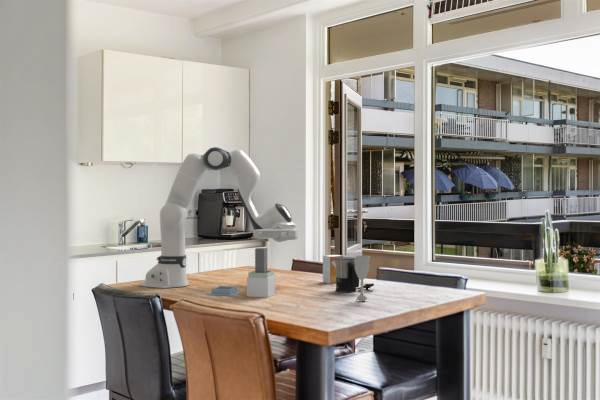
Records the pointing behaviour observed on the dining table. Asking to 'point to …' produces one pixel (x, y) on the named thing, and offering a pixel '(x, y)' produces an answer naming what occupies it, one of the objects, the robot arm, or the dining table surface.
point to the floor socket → (224, 291)
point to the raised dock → (260, 284)
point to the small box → (329, 268)
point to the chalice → (362, 272)
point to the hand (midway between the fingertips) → (270, 234)
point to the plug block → (261, 260)
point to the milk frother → (347, 275)
